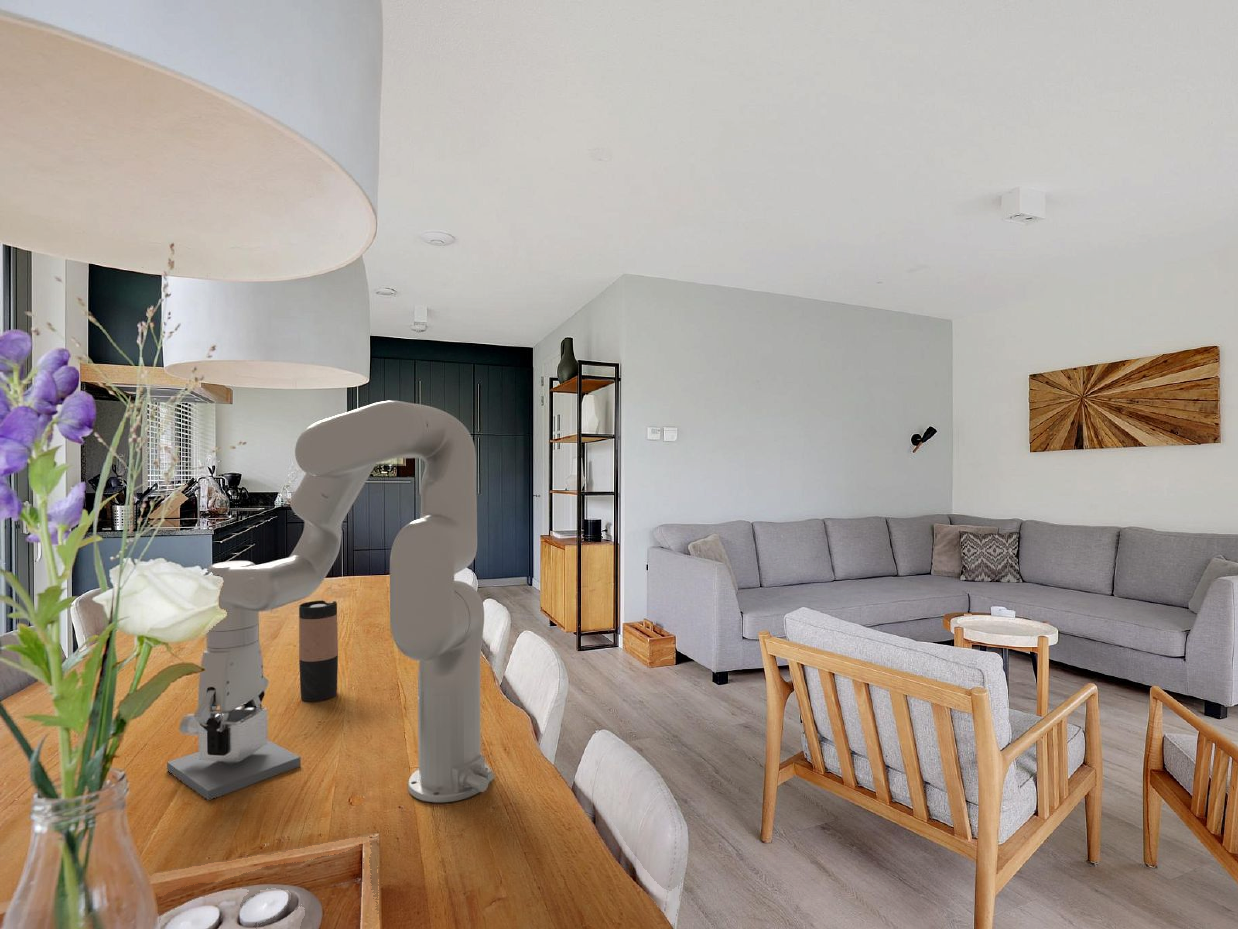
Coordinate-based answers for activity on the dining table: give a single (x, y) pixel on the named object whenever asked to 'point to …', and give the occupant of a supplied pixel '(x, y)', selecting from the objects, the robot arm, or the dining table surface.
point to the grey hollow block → (233, 733)
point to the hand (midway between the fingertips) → (234, 743)
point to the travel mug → (318, 650)
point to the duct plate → (232, 770)
